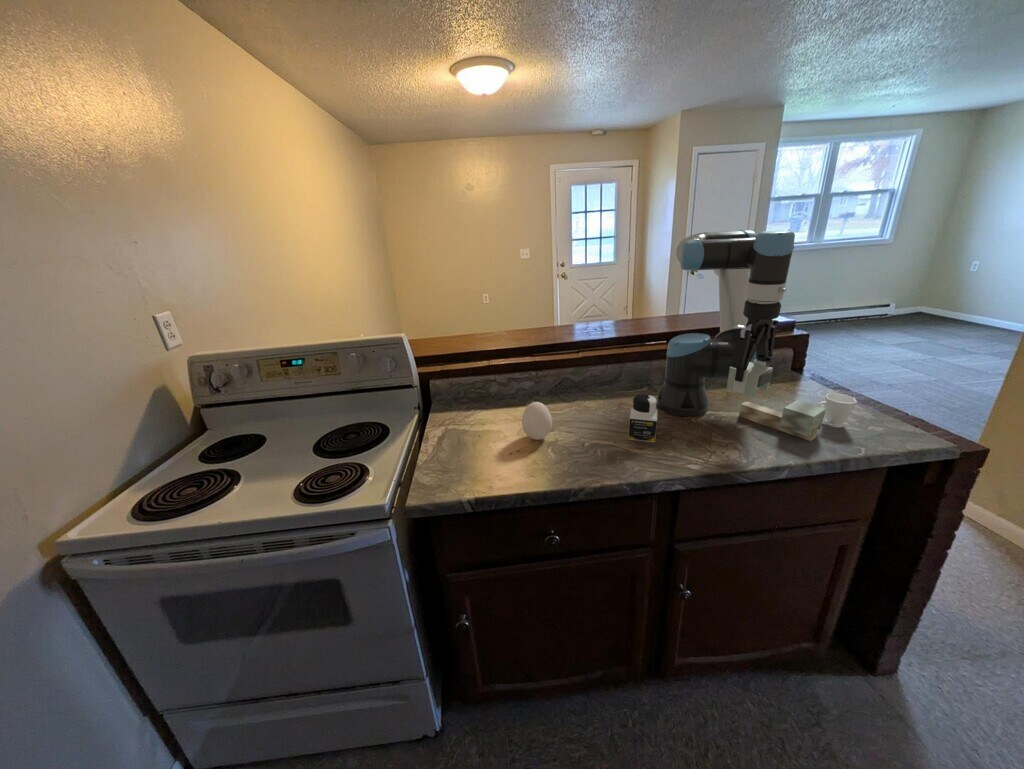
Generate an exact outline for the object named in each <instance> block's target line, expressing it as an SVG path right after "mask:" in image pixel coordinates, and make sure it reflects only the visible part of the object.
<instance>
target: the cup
mask: <svg viewBox="0 0 1024 769" xmlns="http://www.w3.org/2000/svg"><path fill="white" fill-rule="evenodd" d="M824 397H825V398H824V400H823V401H819V402H817V403H816V404H815V406H818V407H821V405H824V408H825V409H826V411H825V415H824V419H825V420H824V419H823V422H822V425H825V426H826V425H827V426H829V427H832V428H842V427H844V426H845V425H844V424H845V423H846V422H847V420H848V419H849V418H850V416H851V414H852V413H853V410H854V408H855V406H856V405H857V403H858V400H856V398H855V397H853V396H850V395H847V394H845V393H834V392H831V393H828V394H825V396H824Z"/></svg>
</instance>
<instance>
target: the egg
mask: <svg viewBox="0 0 1024 769" xmlns="http://www.w3.org/2000/svg"><path fill="white" fill-rule="evenodd" d="M521 417H522V418H521V426H522V431H523V432H524V433H525V435H526V436H527V437H529V438H530V439H532V440H537V441H538V440H542V439H544V438H546V437H547V436H548V435H549V434H550V432H551V429H552V427H553V418H552V413H550V410H549V408H548V407H547V406H546V405H545V404H543V403H542V402H539V401H532V402H531V403H529V404H528V405H527V406H526V408H525V409H524V411H523V413H522V416H521Z"/></svg>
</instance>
